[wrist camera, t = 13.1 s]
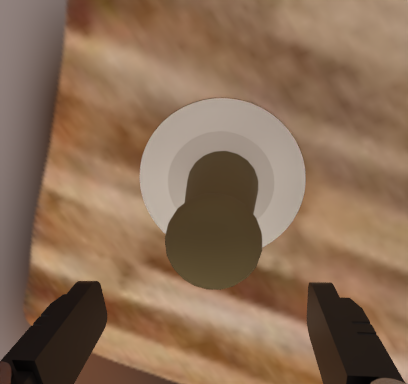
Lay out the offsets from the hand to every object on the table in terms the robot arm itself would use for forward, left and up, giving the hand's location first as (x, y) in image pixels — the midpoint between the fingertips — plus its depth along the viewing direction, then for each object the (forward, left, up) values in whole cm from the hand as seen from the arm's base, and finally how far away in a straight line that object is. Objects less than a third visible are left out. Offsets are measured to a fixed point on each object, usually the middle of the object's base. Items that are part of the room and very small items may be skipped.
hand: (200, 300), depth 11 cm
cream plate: (0, 0, -15) cm, 15 cm away
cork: (0, 0, -14) cm, 14 cm away
